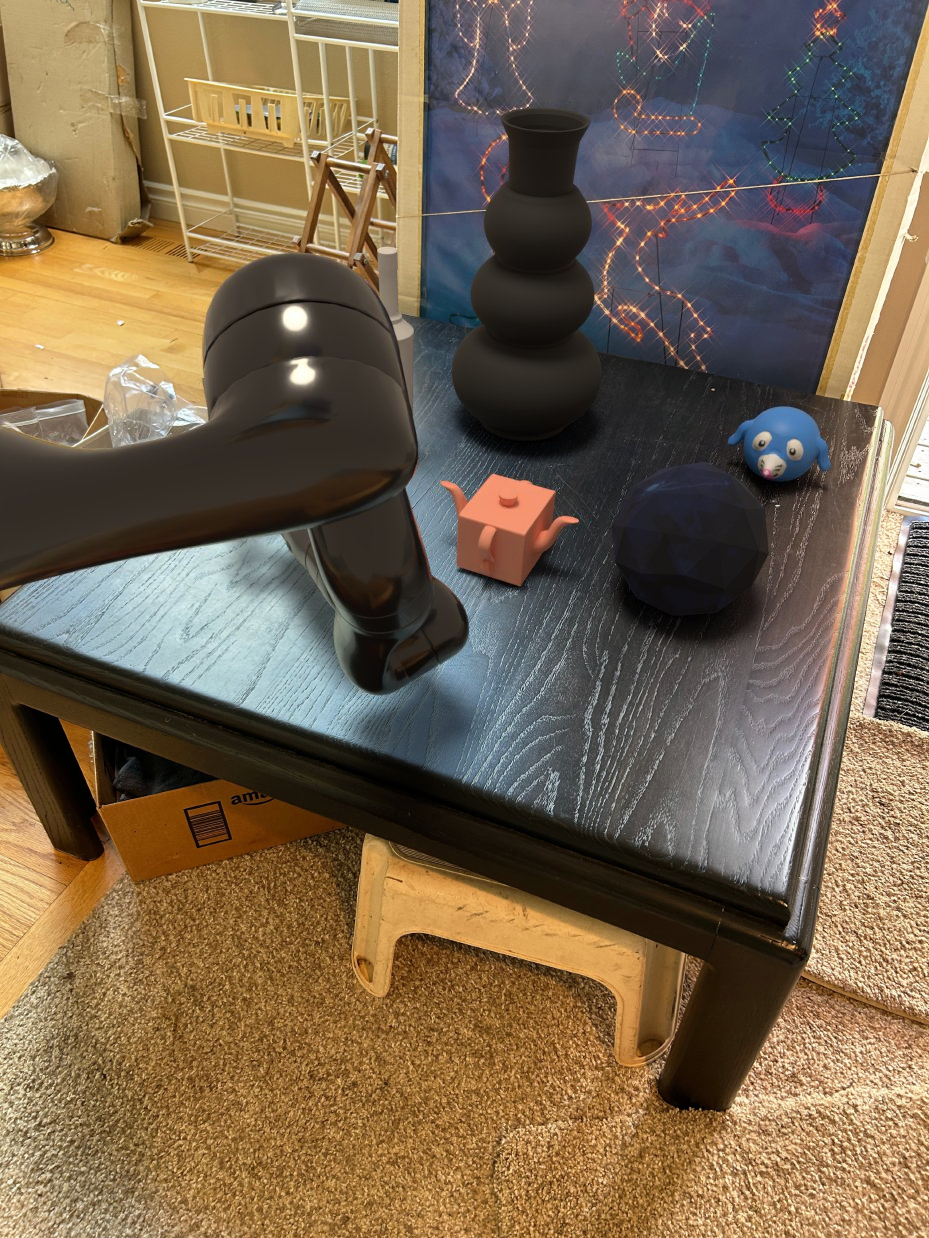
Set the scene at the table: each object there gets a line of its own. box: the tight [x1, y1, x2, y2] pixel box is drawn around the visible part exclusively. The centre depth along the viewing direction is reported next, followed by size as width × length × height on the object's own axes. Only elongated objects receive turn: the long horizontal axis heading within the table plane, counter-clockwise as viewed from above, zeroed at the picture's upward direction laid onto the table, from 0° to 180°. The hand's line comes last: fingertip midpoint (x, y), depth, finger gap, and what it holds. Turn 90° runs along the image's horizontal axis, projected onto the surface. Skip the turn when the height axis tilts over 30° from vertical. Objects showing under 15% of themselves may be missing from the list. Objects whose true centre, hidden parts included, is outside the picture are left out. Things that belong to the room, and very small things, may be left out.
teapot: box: [440, 473, 580, 587], centre depth 92 cm, size 12×15×8 cm
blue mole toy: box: [727, 406, 832, 482], centre depth 104 cm, size 12×12×8 cm
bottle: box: [376, 246, 415, 415], centre depth 100 cm, size 5×5×25 cm
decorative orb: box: [610, 461, 770, 617], centre depth 86 cm, size 14×15×15 cm
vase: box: [451, 107, 603, 442], centre depth 104 cm, size 18×18×35 cm
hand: (264, 439), depth 92 cm, fingers open, 8 cm apart
